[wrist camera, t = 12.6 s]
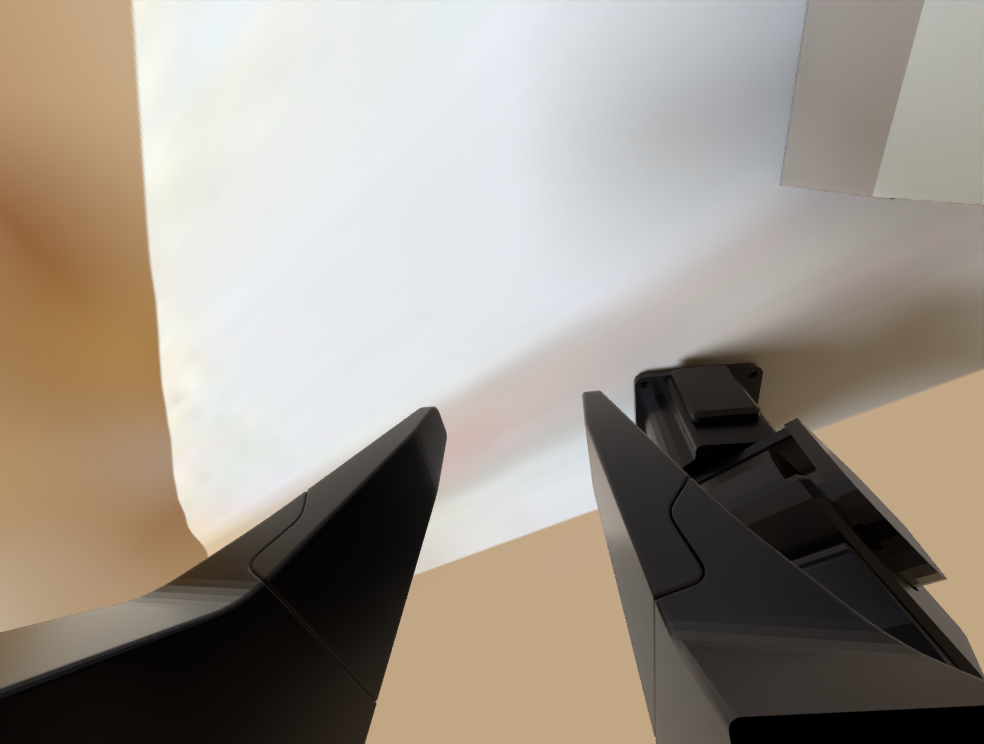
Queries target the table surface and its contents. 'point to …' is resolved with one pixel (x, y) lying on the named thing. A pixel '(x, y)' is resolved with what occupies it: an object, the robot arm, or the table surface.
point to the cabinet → (847, 92)
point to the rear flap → (940, 110)
